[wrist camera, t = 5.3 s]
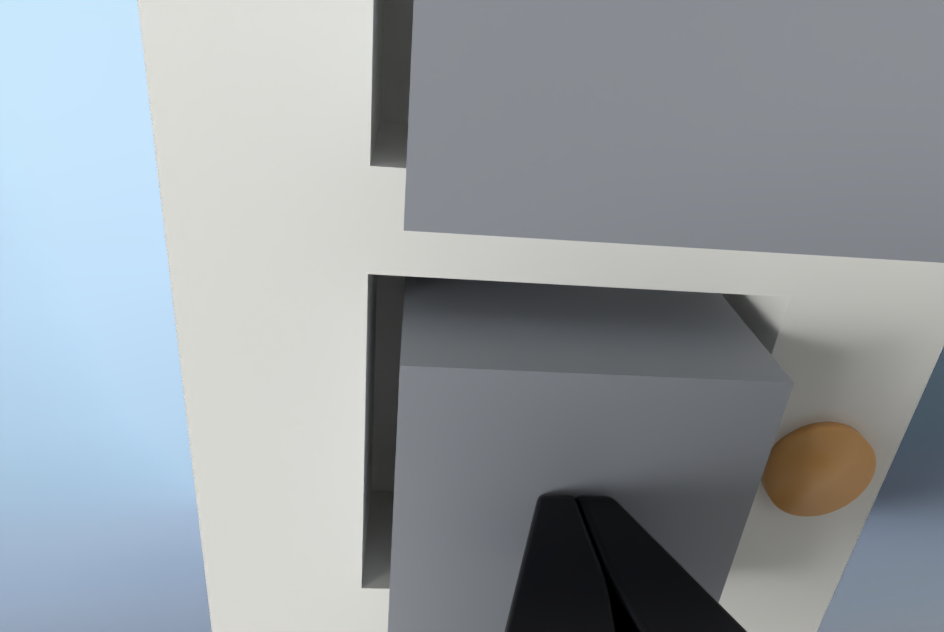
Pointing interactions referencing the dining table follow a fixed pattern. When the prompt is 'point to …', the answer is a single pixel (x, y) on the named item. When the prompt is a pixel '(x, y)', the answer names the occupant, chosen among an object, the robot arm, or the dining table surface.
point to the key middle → (682, 123)
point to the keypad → (381, 315)
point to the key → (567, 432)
